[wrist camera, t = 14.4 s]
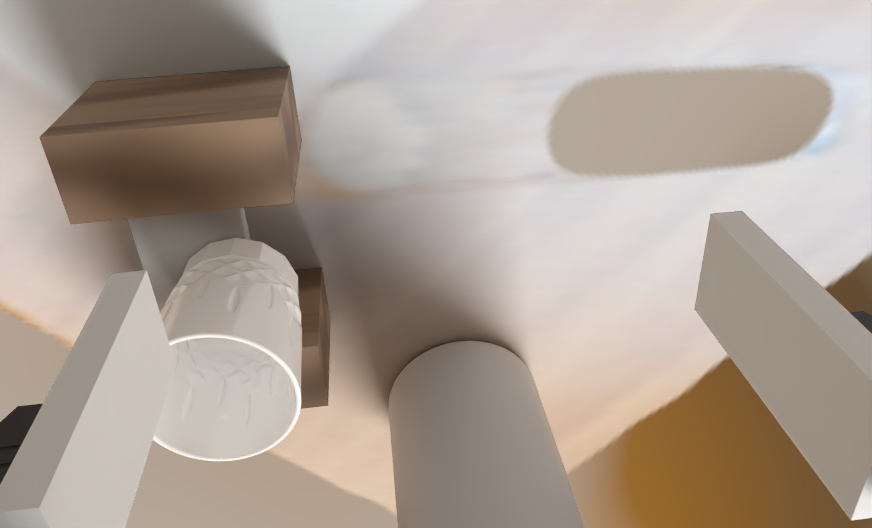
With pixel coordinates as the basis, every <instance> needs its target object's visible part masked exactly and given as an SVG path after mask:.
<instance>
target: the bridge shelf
mask: <svg viewBox="0 0 872 528" xmlns="http://www.w3.org/2000/svg"><path fill="white" fill-rule="evenodd" d="M40 140H41V143H42V146H43V148H44V151H45V154H46V157H47V159H48V162H49V165H50V168H51V170H52V173H53V176H54V179H55V182H56V184H57V187H58V190H59V193H60V195H61V198H62V201H63V204H64V206H65V209H66V212H67V215H68V218H69V220H70V223H71V224H79V223H89V222H100V221H111V220H121V219H128V223H129V226H130V229H131V232H132V235H133V239H134V242H135V245H136V248H137V251H138V255H139V258H140V261H141V264H142V267H143V270H147V273H148V276H149V279H150V283H151V286H152V289H153V292H154V295H155V299H156V302H157V305H158V308H159V312H161V310H162V308H163V306H164V305H165V303H166V301H167V299H168V297H169V296H170V294H171V291H172V290H173V288H174V287H175V286H176V285H177V283H178V282H179V280H180V278H181V276H182V274H183V272H184V270H185V267H186V265H187V263H188V261H189V259H190V258H191V257H192V256H193V255H195V254H196V253H197V252H199V251H200V250H201V249H202V248H204V247H205V246H206V245H208V244H209V243H212V242H217V241H222V240H226V239H231V238H242V239H247V240H251V238H250V233H249V229H248V224H247V219H246V215H245V210H244V208H248V207H259V206H269V205H280V204H291V203H293V200H294V192H295V185H296V178H297V171H298V163H299V156H300V149H301V141H302V140H301V134H300V128H299V121H298V115H297V109H296V102H295V96H294V90H293V83H292V77H291V71H290V66H285V67H272V68H260V69H248V70H236V71H223V72H211V73H199V74H186V75H174V76H162V77H150V78H137V79H125V80H113V81H100V82H95V83H94V84H93V85H92V86H91V87H90V88H89V89H88V90H87V91H86V92H85V93H84V94H83V95H82V96H81V97H80V98H79V99H78V100H77V101H76V102H75V103H74V104H73V105H71V106H70V107H69V108H68V109H67V110H66V111H65V112H64V113H63V114H62V115H61V116H60V117H59V118H58V119H57V120H56V121H55V122H54V123H53V124H52V125H51V126H50V127H49V128H48V129H47V130H46V131H45V132H44V133H43V134H42V135H41V136H40ZM294 271H295V272H296V274H297V275H298V284H299V308H300V310H301V326H302V371H301V409H302V408H311V407H319V406H328V390H329V353H330V317H329V311H328V304H327V298H326V292H325V285H324V279H323V273H322V268H313V269H303V270H294Z"/></svg>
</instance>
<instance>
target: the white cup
mask: <svg viewBox="0 0 872 528" xmlns="http://www.w3.org/2000/svg"><path fill="white" fill-rule="evenodd" d="M160 315H161V318H162V321H163V325H164V328H165V331H166V334H167V337H168V341H169V344H170V347H171V350H172V354H173V357H174V360H175V363H176V368H175V371H174V374H173V377H172V380H171V383H170V387H169V390H168V393H167V396H166V399H165V402H164V406H163V409H162V412H161V415H160V418H159V422H158V425H157V428H156V431H155V434H154V437H153V440H154V441H155V442H156V443H158V444H160V445H161V446H163V447H165V448H166V449H168V450H170V451H173V452H175V453H177V454H180V455H183V456H186V457H190V458H195V459H200V460H207V461H231V460H238V459H243V458H247V457H251V456H254V455H257V454H260V453H262V452H264V451H266V450H268V449H270V448H272V447H273V446H275V445H276V444H278V443H279V442H280V441H281V440H282V439H284V438H285V437H286V436H287V435H288V433H289V432H290V431H291V430H292V428H293V427H294V425H295V423H296V421H297V419H298V416H299V413H300V409H301V371H302V326H301V310H300V308H299V284H298V275H297V274H296V272H295V271H294V269H293V268H292V266H291V265H290V263H289V262H288V260H287V259H286V257H285V256H284V255H282V254H281V253H279V252H278V251H276V250H274V249H273V248H271V247H270V246H268V245H266V244H265V243H263V242H259V241H253V240H247V239H242V238H231V239H226V240H222V241H217V242H212V243H209V244H208V245H206V246H205V247H204V248H202V249H201V250H200V251H199V252H197V253H196V254H195V255H193V256H192V257H191V258H190V259H189V261H188V263H187V265H186V267H185V270H184V272H183V274H182V276H181V278H180V280H179V282H178V283H177V285H176V286H175V287H174V288H173V290H172V291H171V294H170V296H169V297H168V299H167V301H166V303H165V305H164V306H163V308H162V310H161V312H160Z"/></svg>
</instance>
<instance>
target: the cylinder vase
mask: <svg viewBox="0 0 872 528" xmlns="http://www.w3.org/2000/svg"><path fill="white" fill-rule="evenodd" d="M389 419H390V432H391V445H392V457H393V470H394V483H395V495H396V508H397V521H398V528H585V526H584V523H583V520H582V517H581V514H580V511H579V509H578V506H577V503H576V500H575V497H574V494H573V492H572V488H571V485H570V483H569V480H568V477H567V474H566V471H565V468H564V465H563V463H562V460H561V457H560V454H559V451H558V448H557V445H556V442H555V440H554V437H553V434H552V431H551V428H550V425H549V422H548V420H547V417H546V414H545V411H544V408H543V405H542V402H541V399H540V397H539V394H538V391H537V388H536V385H535V382H534V379H533V377H532V375H531V373H530V371H529V369H528V368H527V366H526V365H525V364H524V362H523V361H522V360H521V359H520V358H518V357H517V356H516V355H515V354H513V353H512V352H510V351H509V350H507V349H505V348H503V347H500V346H498V345H495V344H491V343H487V342H481V341H457V342H451V343H447V344H443V345H440V346H437V347H435V348H432V349H430V350H428V351H426V352H424V353H422V354H421V355H419V356H418V357H416V358H415V359H414V360H412V361H411V362H410V363H409V364H408V365H407V366H406V367H405V368H404V369H403V370H402V371H401V373H400V374H399V375H398V377H397V379H396V380H395V382H394V384H393V387H392V389H391V392H390V397H389Z"/></svg>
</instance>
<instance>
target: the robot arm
mask: <svg viewBox="0 0 872 528" xmlns="http://www.w3.org/2000/svg"><path fill="white" fill-rule="evenodd" d="M695 310H696V312H697V313H698V314H699V316H700V317H701V318H702V320H703V321H704V322H705V324H706V325H707V327H708V328H709V329H710V331H711V332H712V333H713V335H714V336H715V337H716V339H717V340H718V341H719V343H720V344H721V345H722V347H723V348H724V349H725V351H726V352H727V354H728V355H729V356H730V358H731V359H732V360H733V362H734V363H735V364H736V365H737V367H738V368H739V370H740V371H741V372H742V373H743V375H744V376H745V378H746V379H747V381H748V382H749V383H750V385H751V386H752V387H753V389H754V390H755V391H756V393H757V394H758V395H759V397H760V398H761V399H762V401H763V402H764V403H765V405H766V406H767V408H768V409H769V410H770V412H771V413H772V414H773V416H774V417H775V418H776V420H777V421H778V422H779V424H780V425H781V426H782V428H783V429H784V431H785V432H786V433H787V434H788V436H789V437H790V439H791V440H792V441H793V443H794V444H795V445H796V447H797V448H798V449H799V451H800V452H801V453H802V455H803V456H804V457H805V459H806V460H807V462H808V463H809V464H810V466H811V467H812V468H813V469H814V471H815V472H816V474H817V475H818V476H819V478H820V479H821V480H822V482H823V483H824V485H825V486H826V487H827V489H828V490H829V491H830V493H831V494H832V495H833V496H834V498H835V499H836V501H837V502H838V503H839V505H840V506H841V508H842V509H843V510H844V512H845V513H846V514H847V516H848V517H849V518H850V520H856V519H865V518H872V315H870V314H868V313H867V312H864V311H860V312H851V313H849V312H848V311H847V310H846V309H845V308H844V307H843V306H842V305H841V304H840V303H839V302H838V301H837V300H835V298H833V297H832V296H831V295H830V294H829V293H828V292H827V291H826V290H825V289H824V288H823V287H822V286H821V285H820V284H819V283H818V282H817V281H815V280H814V279H813V278H812V277H811V276H810V275H809V274H808V273H807V272H806V271H805V270H804V269H803V268H802V267H801V266H800V265H799V264H797V263H796V262H795V261H794V260H793V259H792V258H791V257H790V256H789V255H788V254H787V253H786V252H785V251H784V250H783V249H782V248H781V247H779V246H778V245H777V244H776V243H775V242H774V241H773V240H772V239H771V238H770V237H769V236H768V235H767V234H766V233H765V232H764V231H763V230H761V229H760V228H759V227H758V226H757V225H756V224H755V223H754V222H753V221H752V220H751V219H750V218H749V217H748V216H747V215H746V214H745V213H743V212H742V211H735V212H725V213H715V214H711V215H710V221H709V227H708V233H707V239H706V244H705V250H704V256H703V262H702V268H701V274H700V280H699V286H698V292H697V298H696V304H695ZM175 368H176V363H175V360H174V357H173V354H172V350H171V347H170V344H169V341H168V337H167V334H166V331H165V328H164V325H163V321H162V318H161V315H160V312H159V308H158V305H157V302H156V299H155V295H154V292H153V289H152V286H151V283H150V279H149V276H148V273H147V270H142V271H132V272H122V273H112V274H111V276H110V278H109V280H108V282H107V283H106V285H105V287H104V289H103V291H102V293H101V295H100V297H99V299H98V301H97V302H96V304H95V306H94V308H93V310H92V312H91V314H90V316H89V318H88V319H87V321H86V323H85V325H84V327H83V329H82V331H81V333H80V335H79V337H78V338H77V340H76V342H75V344H74V346H73V348H72V350H71V352H70V354H69V355H68V357H67V359H66V361H65V363H64V365H63V367H62V369H61V371H60V373H59V375H58V376H57V378H56V380H55V382H54V384H53V386H52V388H51V390H50V391H49V393H48V396H47V397H46V399H45V401H44V403H43V404H36V405H27V406H18V407H17V408H16V409H14V410H13V411H12V412H11V413H10V414H9V415H8V416H7V417H6V418H5V419H3V420H2V421H1V422H0V528H125V526H126V523H127V520H128V517H129V514H130V510H131V507H132V504H133V501H134V498H135V494H136V491H137V488H138V485H139V482H140V478H141V475H142V472H143V469H144V466H145V463H146V459H147V456H148V453H149V450H150V447H151V444H152V440H153V437H154V434H155V431H156V428H157V425H158V422H159V418H160V415H161V412H162V409H163V406H164V402H165V399H166V396H167V393H168V390H169V387H170V383H171V380H172V377H173V374H174V371H175Z"/></svg>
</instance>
